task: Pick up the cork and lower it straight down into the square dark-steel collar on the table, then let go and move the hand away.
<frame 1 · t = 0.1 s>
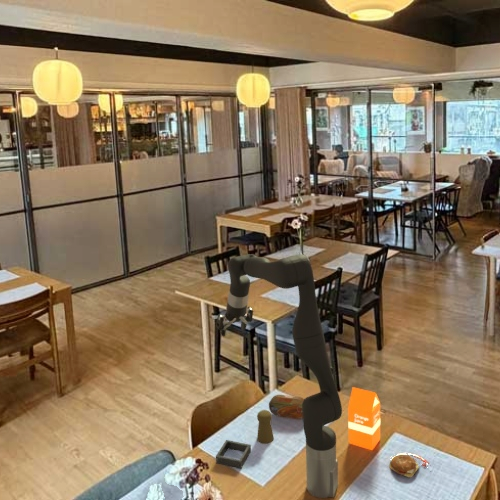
hand: (232, 332, 210), 31 cm above the table, tool tilted 20°, fingers open, 8 cm apart
hamburger: (409, 468, 180), on the table
steel collar: (233, 457, 188), on the table
orange juice: (364, 441, 193), on the table
tin: (289, 416, 210), on the table
cork: (265, 439, 197), on the table
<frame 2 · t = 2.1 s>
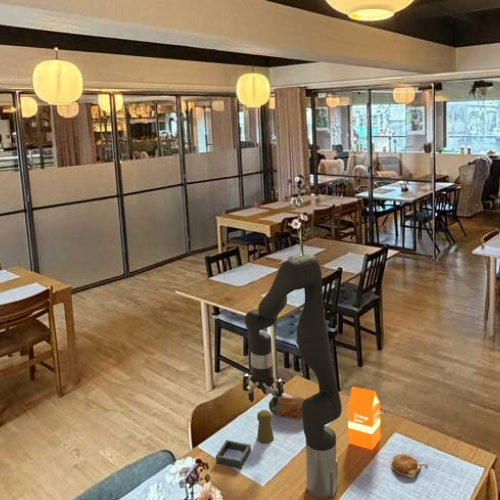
hand: (263, 403, 193), 15 cm above the table, tool pointing down, fingers open, 8 cm apart
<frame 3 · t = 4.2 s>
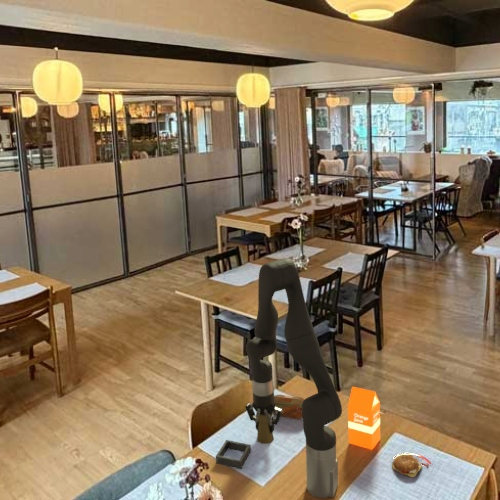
hand: (265, 431, 196), 3 cm above the table, tool pointing down, fingers closed on cork, 4 cm apart
cork: (265, 439, 197), on the table, touching gripper
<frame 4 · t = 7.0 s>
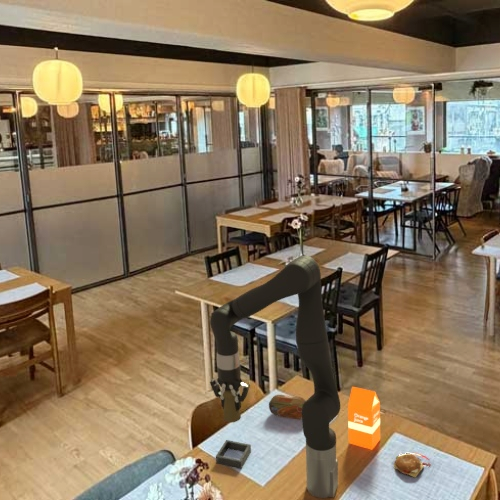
hand: (231, 408, 182), 19 cm above the table, tool pointing down, fingers closed on cork, 4 cm apart
cork: (232, 417, 184), point 16 cm above the table, touching gripper
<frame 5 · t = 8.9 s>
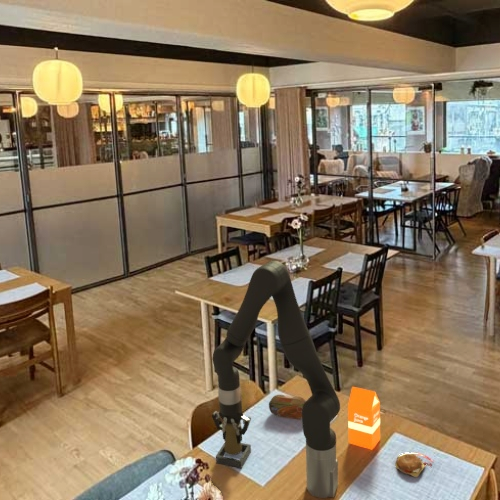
hand: (232, 441, 186), 7 cm above the table, tool pointing down, fingers closed on cork, 4 cm apart
cork: (233, 449, 187), point 3 cm above the table, touching gripper
when the fingers open (5 cm above the table, at t = 10.1 s): cork drops 1 cm, resting in steel collar.
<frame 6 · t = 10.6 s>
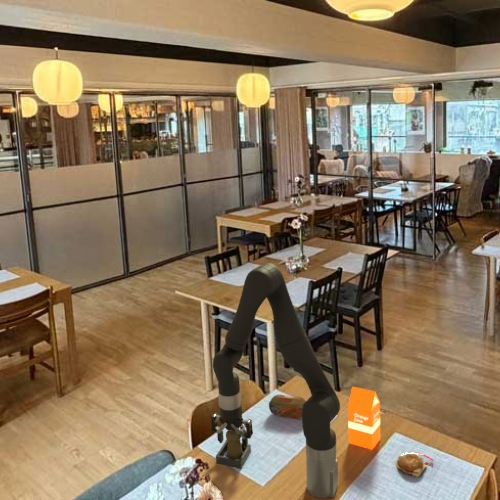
hand: (232, 444, 186), 6 cm above the table, tool pointing down, fingers open, 8 cm apart
cork: (235, 458, 188), resting in steel collar
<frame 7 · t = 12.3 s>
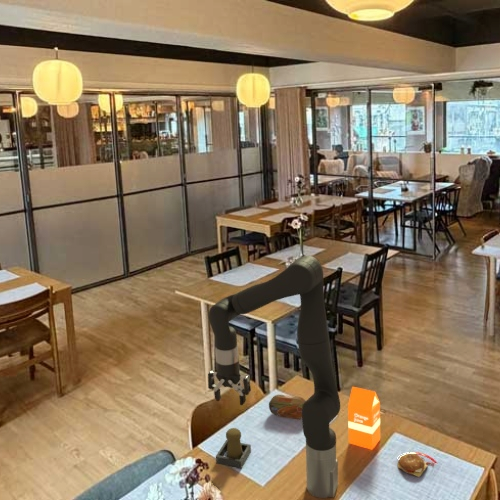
hand: (230, 401, 181), 22 cm above the table, tool pointing down, fingers open, 8 cm apart
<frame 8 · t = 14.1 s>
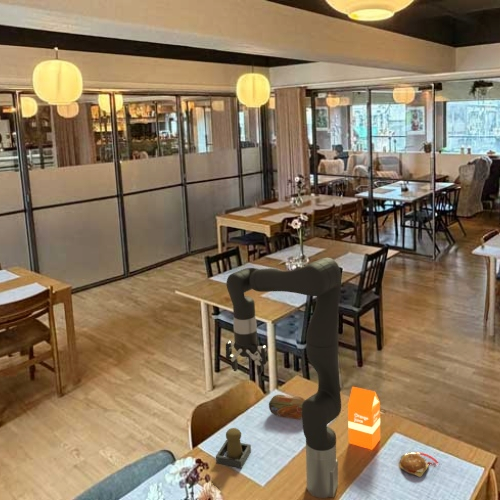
hand: (247, 372, 184), 30 cm above the table, tool pointing down, fingers open, 8 cm apart
at the end: cork 0.4 cm off-centre on the steel collar, point 0.0 cm above the steel collar's base; cork tilted 0°; the gripper is holding nothing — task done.
